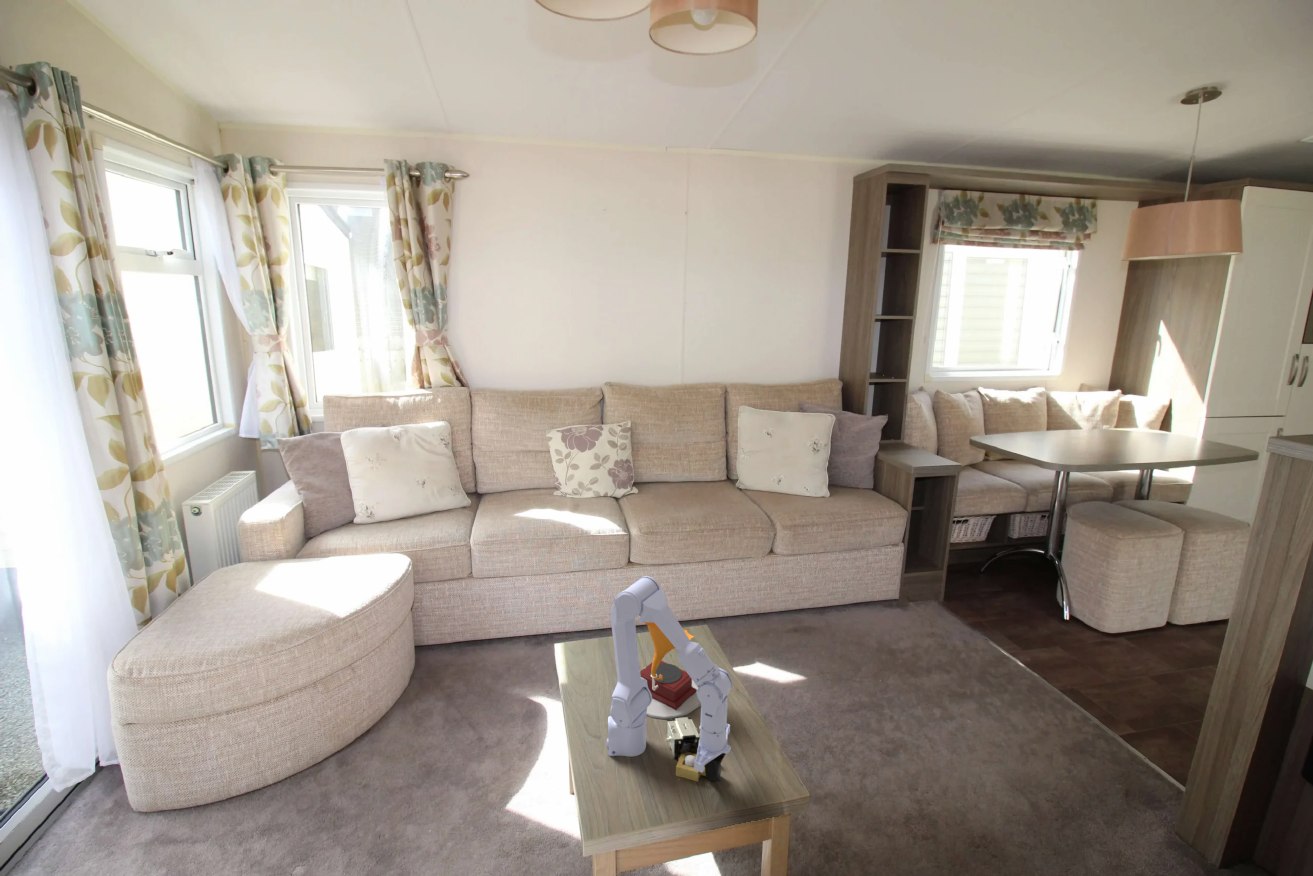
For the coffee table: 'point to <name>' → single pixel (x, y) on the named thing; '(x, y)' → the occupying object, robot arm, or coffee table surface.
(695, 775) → the square nut with handle
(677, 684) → the gramophone
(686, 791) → the coffee table surface
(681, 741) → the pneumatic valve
